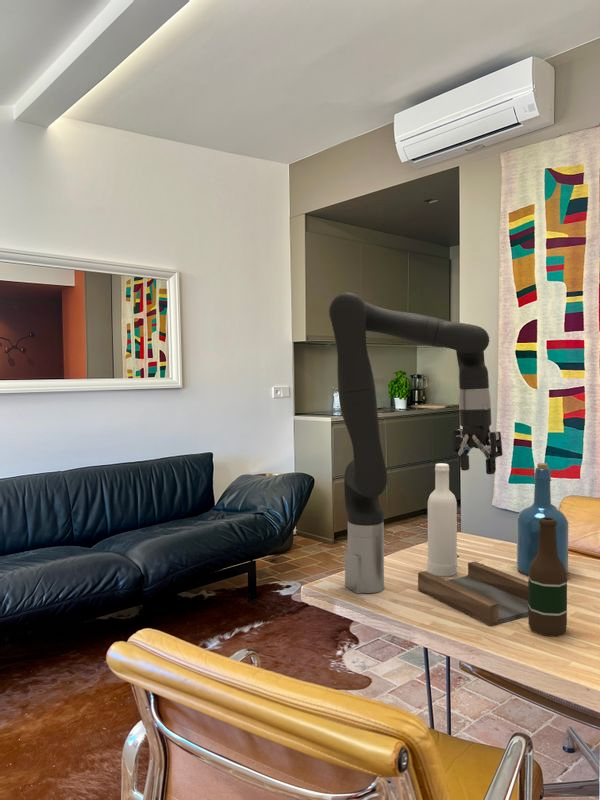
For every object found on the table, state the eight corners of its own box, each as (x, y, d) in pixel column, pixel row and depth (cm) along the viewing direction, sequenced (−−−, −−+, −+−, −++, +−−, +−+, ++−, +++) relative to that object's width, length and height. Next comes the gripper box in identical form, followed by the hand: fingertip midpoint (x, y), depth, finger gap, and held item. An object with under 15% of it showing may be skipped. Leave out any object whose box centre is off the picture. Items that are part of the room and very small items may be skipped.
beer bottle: (563, 640, 126) (564, 524, 125) (524, 632, 130) (524, 520, 129) (569, 626, 132) (570, 516, 131) (531, 619, 136) (532, 512, 135)
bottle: (460, 576, 165) (460, 466, 163) (430, 576, 165) (430, 466, 164) (453, 567, 173) (453, 461, 171) (425, 567, 173) (425, 462, 172)
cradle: (490, 626, 133) (490, 605, 133) (418, 590, 155) (418, 572, 155) (551, 609, 142) (551, 590, 141) (475, 577, 164) (475, 561, 164)
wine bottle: (564, 583, 159) (564, 468, 158) (511, 575, 166) (511, 465, 165) (571, 568, 171) (572, 461, 169) (522, 561, 178) (522, 458, 176)
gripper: (443, 407, 156) (446, 470, 157) (485, 408, 144) (488, 477, 144) (465, 405, 160) (468, 467, 160) (508, 406, 147) (510, 473, 148)
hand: (477, 472), depth 152 cm, fingers open, 8 cm apart
